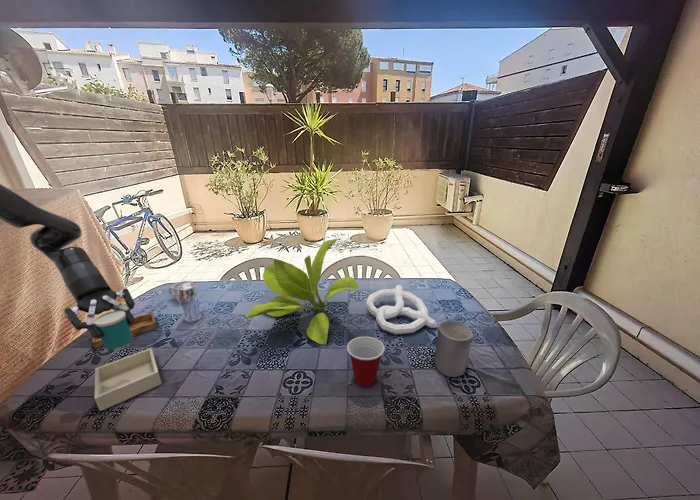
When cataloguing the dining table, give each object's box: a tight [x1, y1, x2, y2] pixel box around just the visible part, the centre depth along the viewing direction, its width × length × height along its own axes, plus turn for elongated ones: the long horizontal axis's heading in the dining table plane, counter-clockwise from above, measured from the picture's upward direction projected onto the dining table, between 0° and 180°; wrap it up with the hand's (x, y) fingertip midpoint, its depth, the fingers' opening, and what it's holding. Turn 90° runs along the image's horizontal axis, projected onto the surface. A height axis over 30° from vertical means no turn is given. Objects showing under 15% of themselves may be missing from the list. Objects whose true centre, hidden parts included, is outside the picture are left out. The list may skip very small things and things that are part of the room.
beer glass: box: [177, 281, 203, 323], centre depth 108 cm, size 7×7×15 cm
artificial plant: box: [245, 238, 360, 345], centre depth 106 cm, size 42×43×30 cm
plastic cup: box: [346, 336, 386, 387], centre depth 79 cm, size 11×11×12 cm
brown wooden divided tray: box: [91, 311, 158, 350], centre depth 101 cm, size 18×9×3 cm, turn 131°
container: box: [93, 310, 133, 350], centre depth 75 cm, size 6×6×8 cm
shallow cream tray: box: [94, 347, 162, 412], centre depth 79 cm, size 14×14×5 cm
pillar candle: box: [433, 320, 474, 378], centre depth 84 cm, size 10×10×15 cm
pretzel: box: [365, 284, 438, 335], centre depth 112 cm, size 28×24×6 cm
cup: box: [167, 280, 192, 303], centre depth 123 cm, size 11×8×8 cm
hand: (116, 330), depth 74 cm, fingers closed on container, 6 cm apart
